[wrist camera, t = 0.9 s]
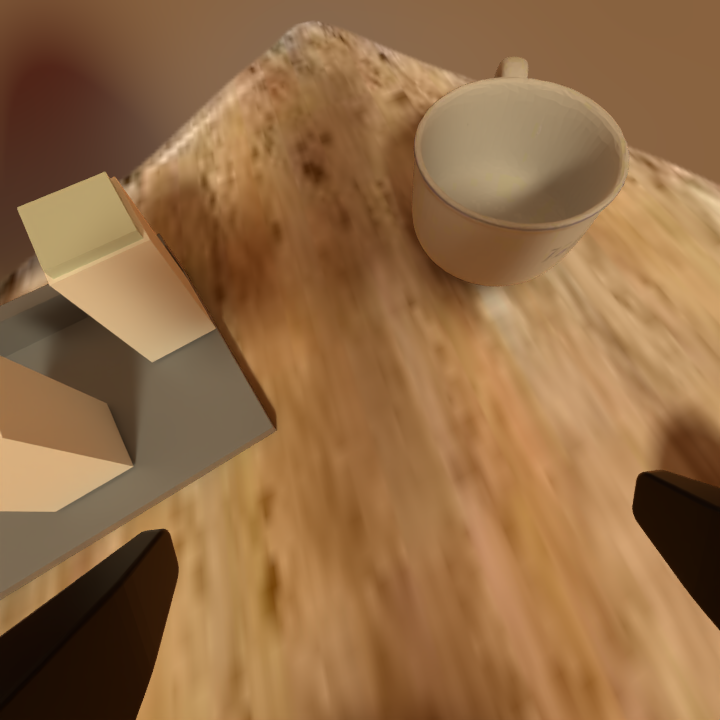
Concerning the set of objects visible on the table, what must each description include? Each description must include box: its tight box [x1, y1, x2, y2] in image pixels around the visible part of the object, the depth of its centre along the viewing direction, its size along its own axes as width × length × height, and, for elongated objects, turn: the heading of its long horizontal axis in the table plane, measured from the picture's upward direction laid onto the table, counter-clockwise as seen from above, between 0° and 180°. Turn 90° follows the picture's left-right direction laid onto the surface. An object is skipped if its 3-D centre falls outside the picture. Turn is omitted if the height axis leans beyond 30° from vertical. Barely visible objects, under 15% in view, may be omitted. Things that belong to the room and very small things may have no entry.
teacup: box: [412, 57, 629, 286], centre depth 24 cm, size 14×11×8 cm
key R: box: [0, 356, 134, 512], centre depth 16 cm, size 4×4×8 cm
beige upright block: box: [17, 172, 216, 362], centre depth 19 cm, size 4×4×8 cm
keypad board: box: [0, 234, 277, 600], centre depth 20 cm, size 13×18×4 cm
